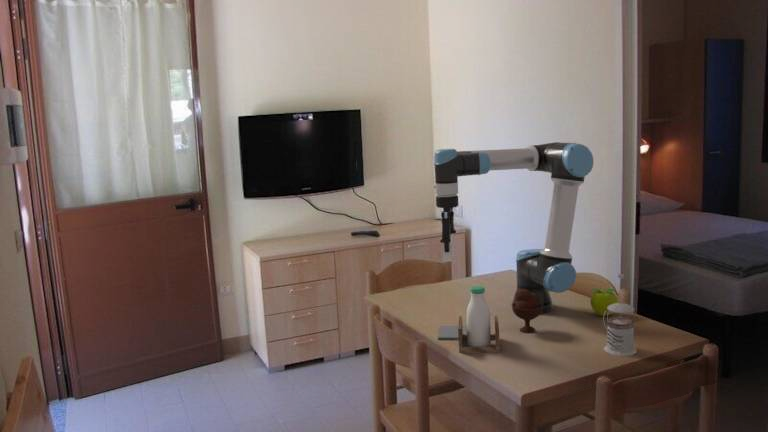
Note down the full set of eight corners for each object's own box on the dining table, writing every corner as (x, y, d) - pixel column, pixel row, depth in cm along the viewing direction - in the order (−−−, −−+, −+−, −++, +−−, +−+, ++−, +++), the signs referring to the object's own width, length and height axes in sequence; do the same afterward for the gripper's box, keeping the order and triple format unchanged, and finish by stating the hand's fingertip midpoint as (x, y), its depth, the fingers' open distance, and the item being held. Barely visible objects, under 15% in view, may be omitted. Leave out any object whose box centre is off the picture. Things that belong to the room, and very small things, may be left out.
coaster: (473, 327, 229) (472, 325, 229) (473, 339, 218) (472, 337, 217) (439, 327, 231) (439, 325, 231) (437, 339, 219) (437, 337, 219)
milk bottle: (490, 349, 208) (488, 290, 205) (466, 349, 209) (464, 290, 206) (491, 341, 215) (489, 284, 212) (468, 340, 217) (466, 284, 214)
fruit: (589, 310, 241) (589, 285, 240) (614, 311, 239) (615, 285, 238) (591, 318, 233) (591, 292, 231) (618, 319, 231) (618, 292, 229)
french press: (619, 358, 196) (620, 279, 192) (593, 346, 206) (593, 271, 202) (643, 351, 200) (645, 274, 196) (616, 340, 210) (617, 267, 206)
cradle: (498, 338, 218) (497, 315, 216) (499, 352, 205) (498, 328, 204) (459, 338, 220) (459, 315, 218) (459, 352, 207) (458, 328, 206)
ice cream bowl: (526, 338, 216) (525, 295, 214) (505, 329, 226) (504, 288, 224) (550, 332, 221) (549, 290, 219) (528, 323, 231) (528, 283, 228)
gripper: (439, 190, 227) (441, 248, 230) (431, 200, 203) (434, 265, 206) (460, 190, 226) (462, 248, 229) (455, 200, 201) (457, 265, 205)
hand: (449, 256), depth 218 cm, fingers open, 13 cm apart
